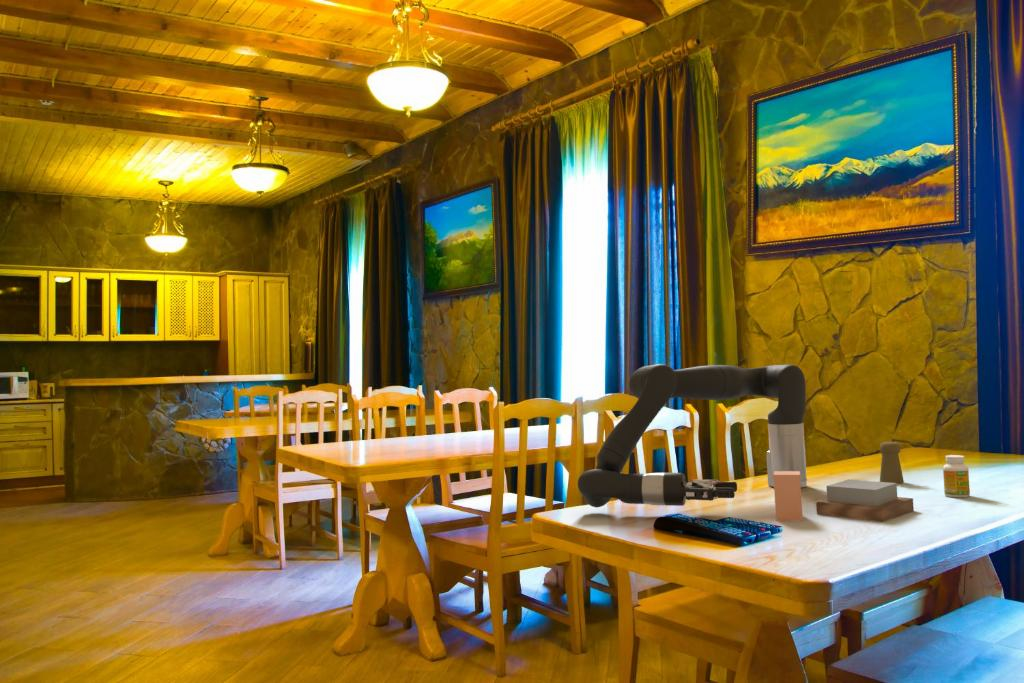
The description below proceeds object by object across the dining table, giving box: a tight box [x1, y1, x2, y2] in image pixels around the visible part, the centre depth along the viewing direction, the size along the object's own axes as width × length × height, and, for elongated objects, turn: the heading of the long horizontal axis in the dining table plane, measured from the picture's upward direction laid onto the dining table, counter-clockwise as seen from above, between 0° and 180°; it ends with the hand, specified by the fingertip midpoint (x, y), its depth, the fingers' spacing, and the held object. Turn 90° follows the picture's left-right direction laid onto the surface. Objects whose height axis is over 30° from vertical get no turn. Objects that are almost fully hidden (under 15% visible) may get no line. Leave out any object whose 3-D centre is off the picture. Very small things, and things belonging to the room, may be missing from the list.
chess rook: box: [879, 441, 905, 485], centre depth 219 cm, size 6×6×11 cm
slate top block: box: [826, 479, 898, 506], centre depth 181 cm, size 11×11×4 cm
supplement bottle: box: [942, 454, 971, 499], centre depth 195 cm, size 5×5×10 cm
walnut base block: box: [815, 496, 915, 523], centre depth 181 cm, size 15×15×4 cm
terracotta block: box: [773, 471, 803, 522], centre depth 179 cm, size 6×6×10 cm
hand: (735, 489), depth 182 cm, fingers open, 8 cm apart
